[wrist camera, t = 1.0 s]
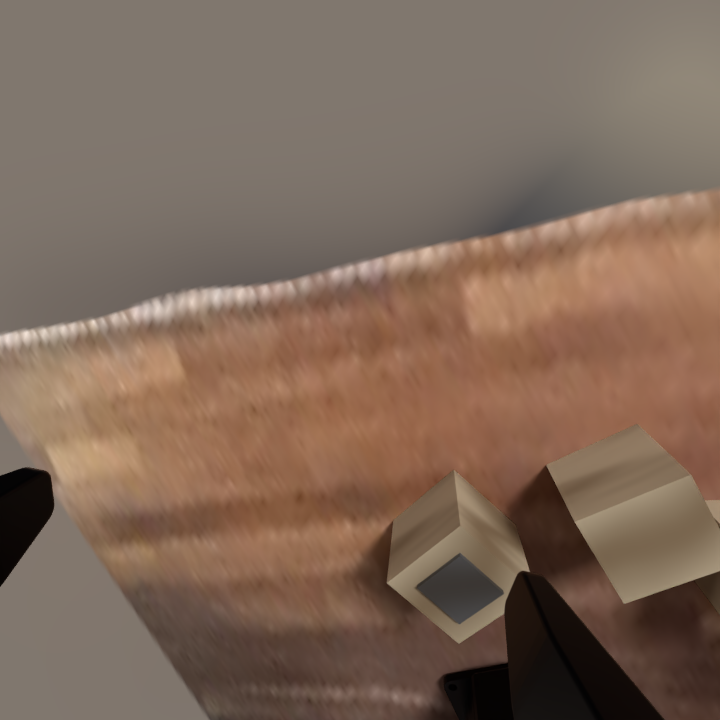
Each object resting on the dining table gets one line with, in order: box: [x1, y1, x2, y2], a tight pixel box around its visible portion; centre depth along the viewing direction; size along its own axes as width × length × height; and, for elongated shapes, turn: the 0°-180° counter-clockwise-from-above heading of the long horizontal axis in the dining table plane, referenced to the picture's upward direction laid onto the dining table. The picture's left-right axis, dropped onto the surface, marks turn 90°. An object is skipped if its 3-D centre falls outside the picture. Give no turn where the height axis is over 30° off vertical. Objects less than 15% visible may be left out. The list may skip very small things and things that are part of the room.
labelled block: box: [387, 470, 530, 644], centre depth 22 cm, size 4×4×5 cm
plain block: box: [546, 424, 720, 604], centre depth 20 cm, size 4×4×4 cm
